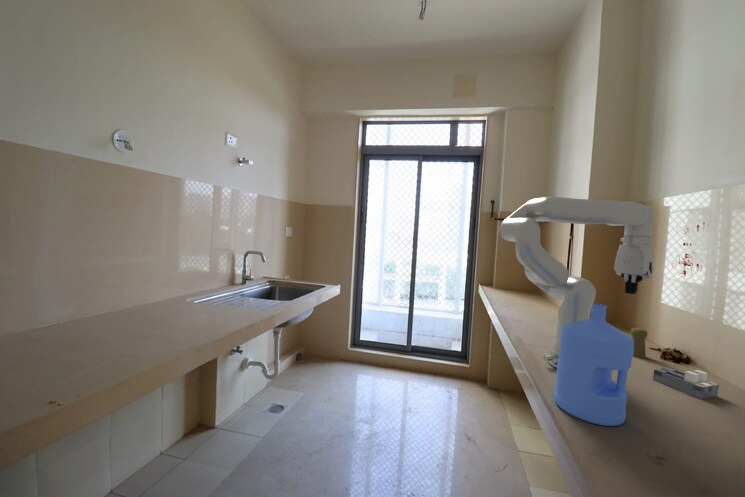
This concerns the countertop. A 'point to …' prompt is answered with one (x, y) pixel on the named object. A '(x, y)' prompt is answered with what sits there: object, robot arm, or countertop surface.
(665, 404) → the countertop surface
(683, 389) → the switch block
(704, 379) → the outer tab
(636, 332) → the cork
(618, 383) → the water jug
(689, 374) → the inner tab
